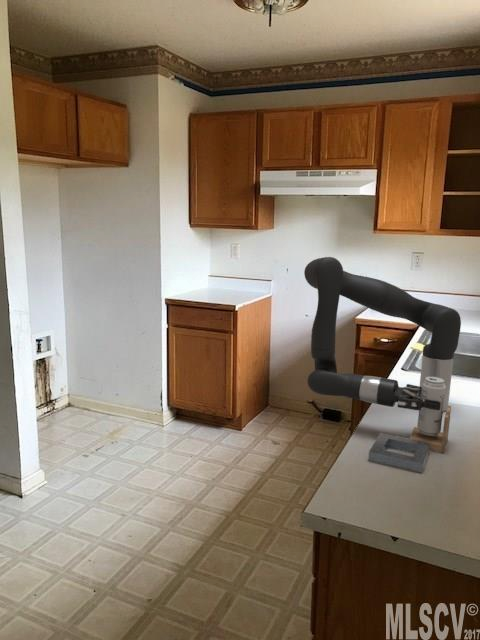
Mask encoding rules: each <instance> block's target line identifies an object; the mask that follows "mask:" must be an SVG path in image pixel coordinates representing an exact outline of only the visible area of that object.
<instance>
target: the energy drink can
mask: <svg viewBox="0 0 480 640" xmlns="http://www.w3.org/2000/svg"><path fill="white" fill-rule="evenodd" d="M445 392H446V386H445V383H444V380H443V379H442V378H438V377H426V378H425V381H424V382H423V383H422V390H421V398H424V399H425V401H426V399H428V400H433V401H439V402H441V407H440V410H433V409H428V408H424V409H421V410H418V416H417V417H418V418H417V425H416V427H417V428H418V429H419V432H421V433H422V434H425V435H429V436H435V435H438V433H439V432H441V429H442V424H443V416H444V412H443V408H444V400H445Z"/></svg>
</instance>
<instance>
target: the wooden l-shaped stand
mask: <svg viewBox="0 0 480 640" xmlns="http://www.w3.org/2000/svg"><path fill="white" fill-rule="evenodd" d="M451 413H452V406H451V405H448V408H447V411H445V415H444V420H443V427H442V428H443V430H442V432H441V431H440V432H439V433H438V435H435V436H429V435H425V434H422V433H421V432H419V429H418V428H417V426H414V427H413V429H412V432H411V434H410V437H409V438H408V439H413V440H418V441H423V442H428V443H430V451H431V452H435V453H436V452H437V453H440V454H445V451H446V447H447V445H448V440H449V432H450V431H449V430H450V421H451V415H452V414H451ZM430 451H429V452H430Z"/></svg>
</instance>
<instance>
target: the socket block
mask: <svg viewBox="0 0 480 640" xmlns="http://www.w3.org/2000/svg"><path fill="white" fill-rule="evenodd" d="M388 448H389V449H394V450H398V449H399V450H398V451H402V450H404V451H403V452H407V451H408V453H412V454H413V456H412V455H407V454H402V453H398V452H393V451H391V450H390V451H389V450H387V449H388ZM429 454H430V443H428V442H423V441H418V440H413V439H409V438H407V437H402V436H397V435H392V434H389V433H382V432H379V434H378V436H377V437H376V439H375V441H374V442H373V444H372V445H371V448H370V449H369V452H368V462H372V463H376V464H381V465H384V466H389V467H394V468H397V469H403V470H407V471H411V472H414V473H415V472H416V473H419V474H423V472H424V470H425V466H426V463H427V460H428V457H429V456H430V455H429Z"/></svg>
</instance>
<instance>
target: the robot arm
mask: <svg viewBox="0 0 480 640" xmlns="http://www.w3.org/2000/svg"><path fill="white" fill-rule="evenodd" d="M304 278H305V281H306V282H307V284H308V285H309V286H310V287H312V288H314V289H315V290H316V289H317V307H316V313H315V316H314V320H313V323H312V327H311V328H312V329H311V335H310V336H311V337H310V340H311V342H310V356H311V358H312V359H313V360H314V370H313V371H312V372H310V374H309V375H308V377H307V380H306V381H307V386H308V388H309V389H310V391H312V392H313V393H315V394H318V395H324V396H334V397H345V398H349V399H354V400H360V401H363V402H366V403H370V404H375V405H379V406H385V407H391V408H393V407H395V405H397V408H401V409H408V410H413V411H419V410H421V409H424V408H428V409H433V410H440V407H441V402H439V401H433V400H428V399H426V401H425V399H424V398H421V390H422V383H423V382H424V381H425V378H426V377H438V378H442V379H443V380H444V383H445V386H446V392H445V400H444V408H443V413H444V412H446V411H447V408H448V406H449V403H450V402H449V401H450V392H451V384H452V376H453V375H452V374H453V373H452V372H453V365H454V355H455V352H456V351H457V348H458V345H459V339H460V333H461V328H462V327H461V326H462V321H461V319H462V318H461V316H460V313H459V312H458V311H457V310H456V309H454V308H451V307H448V306H446V305H442V304H436V303H433V302H428V301H425V300H423V299H420V298H417V297H414V296H412V295H411V294H410V293H408V292H407V291H405V290H404V289H402V288H400V287H398V286H396V285H394V284H391V283H388V282H387V281H384V280H381V279H377V278H373V277H368V276H363V275H358V274H354V273H351V272H348V271H346V270H344V268H343V265H342V263H341V261H339V260H338V259H337V258H335V257H333V256H324V257H319V258H315V259H313V260H311V261H309V262H308V263H307V265H306V266H305V268H304ZM340 296H341V297H344V298H346V299H348V300H350V301H352V302H355V303H357V304H358V305H362V306H363V307H366V308H367V309H370V310H371V311H375V312H377V313H380V314H383V315H386V316H390V317H393V318H399V319H404V320H407V321H409V322H411V323H413V324H415V325H418V327H421V328H423V329H424V330H425V331H428V332H429V333H430V334H431V338H430V342H429V343H427V344H425V345H424V346H423V348H422V356H421V357H422V358H421V368H420V376H419V377H420V378H419V385H413V384H411V383H408V384H406V386H404V387H403V386H402V387H401V386H399V382H398V380H397V379H392V378H385V377H380V376H379V377H378V376H373V375H362V374H356V373H338V369H337V362H336V361H337V360H336V329H337V317H338V315H337V314H338V311H339V310H338V309H339V302H340ZM396 403H397V404H396Z"/></svg>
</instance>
